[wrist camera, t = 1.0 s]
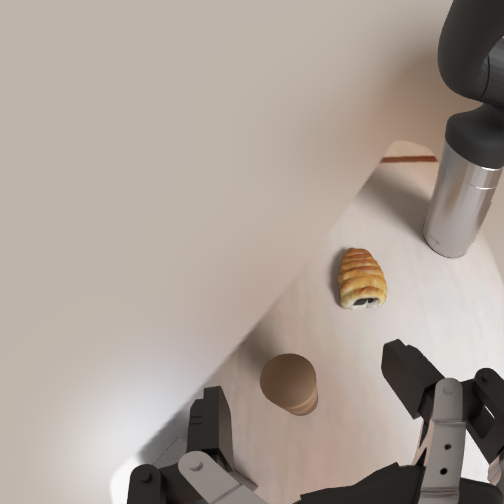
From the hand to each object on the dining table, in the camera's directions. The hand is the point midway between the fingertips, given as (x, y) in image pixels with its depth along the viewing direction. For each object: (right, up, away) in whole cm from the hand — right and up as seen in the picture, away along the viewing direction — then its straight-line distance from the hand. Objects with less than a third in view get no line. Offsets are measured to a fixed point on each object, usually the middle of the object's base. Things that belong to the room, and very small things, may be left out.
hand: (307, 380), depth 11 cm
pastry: (+12, +1, +25) cm, 28 cm away
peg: (+3, -12, +17) cm, 21 cm away
